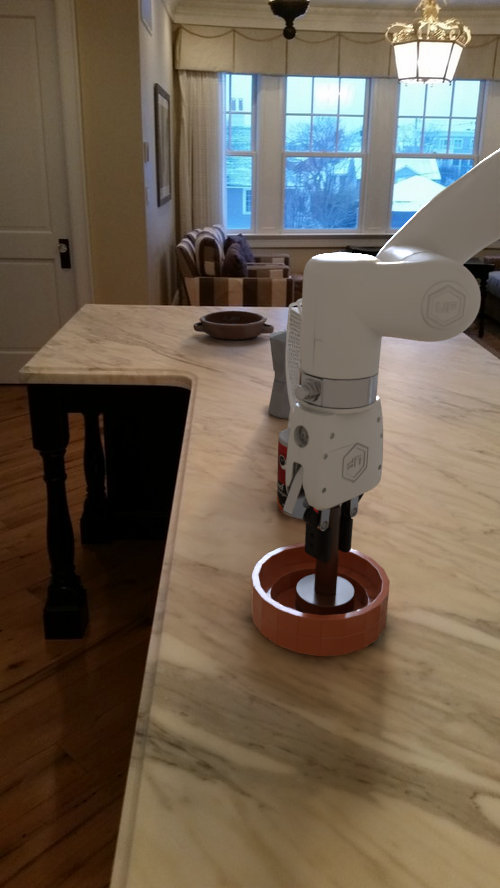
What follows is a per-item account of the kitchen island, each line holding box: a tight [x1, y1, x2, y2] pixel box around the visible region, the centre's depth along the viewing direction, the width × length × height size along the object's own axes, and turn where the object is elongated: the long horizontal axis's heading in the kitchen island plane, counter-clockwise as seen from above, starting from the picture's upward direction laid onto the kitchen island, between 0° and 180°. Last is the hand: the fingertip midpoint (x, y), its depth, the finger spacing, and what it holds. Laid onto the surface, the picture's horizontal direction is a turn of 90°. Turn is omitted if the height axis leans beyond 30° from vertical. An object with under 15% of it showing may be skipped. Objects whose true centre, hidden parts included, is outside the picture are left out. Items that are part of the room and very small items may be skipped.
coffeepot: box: [268, 328, 290, 420], centre depth 133 cm, size 15×9×18 cm, turn 19°
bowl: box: [250, 542, 391, 657], centre depth 76 cm, size 15×15×5 cm
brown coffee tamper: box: [295, 503, 355, 615], centre depth 75 cm, size 6×6×13 cm
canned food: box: [276, 427, 318, 513], centre depth 99 cm, size 8×8×11 cm
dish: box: [193, 310, 275, 341], centre depth 193 cm, size 18×22×5 cm
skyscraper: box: [285, 297, 302, 429], centre depth 107 cm, size 8×8×28 cm
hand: (327, 550), depth 75 cm, fingers closed on brown coffee tamper, 2 cm apart
